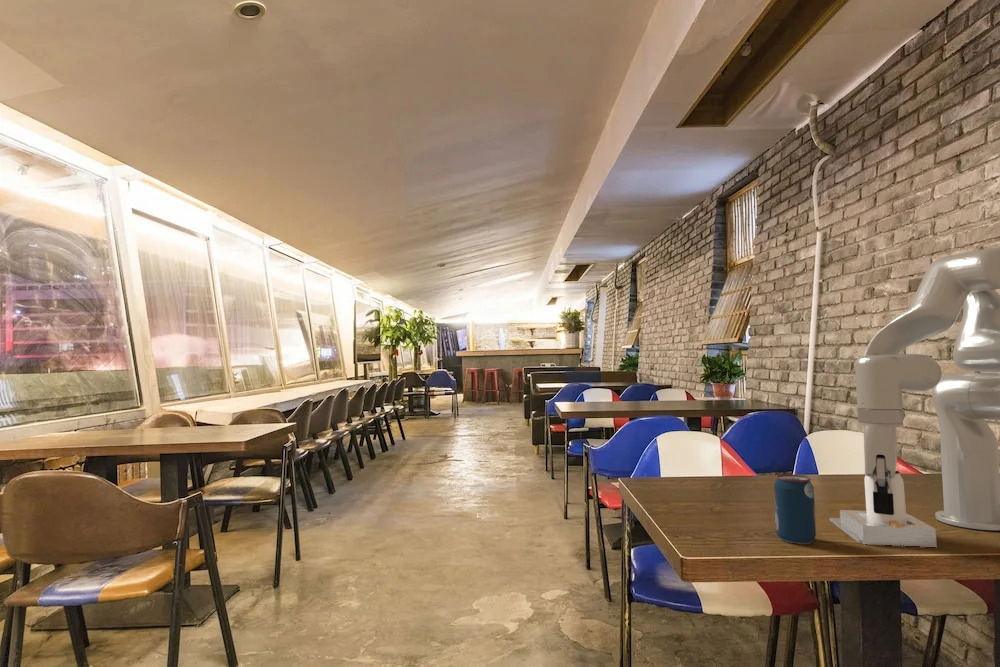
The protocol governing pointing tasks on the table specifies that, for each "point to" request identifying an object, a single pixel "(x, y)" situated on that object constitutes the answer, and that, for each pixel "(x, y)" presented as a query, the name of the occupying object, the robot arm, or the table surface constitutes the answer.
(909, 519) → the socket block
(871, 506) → the can
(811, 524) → the soda can
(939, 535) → the table surface
